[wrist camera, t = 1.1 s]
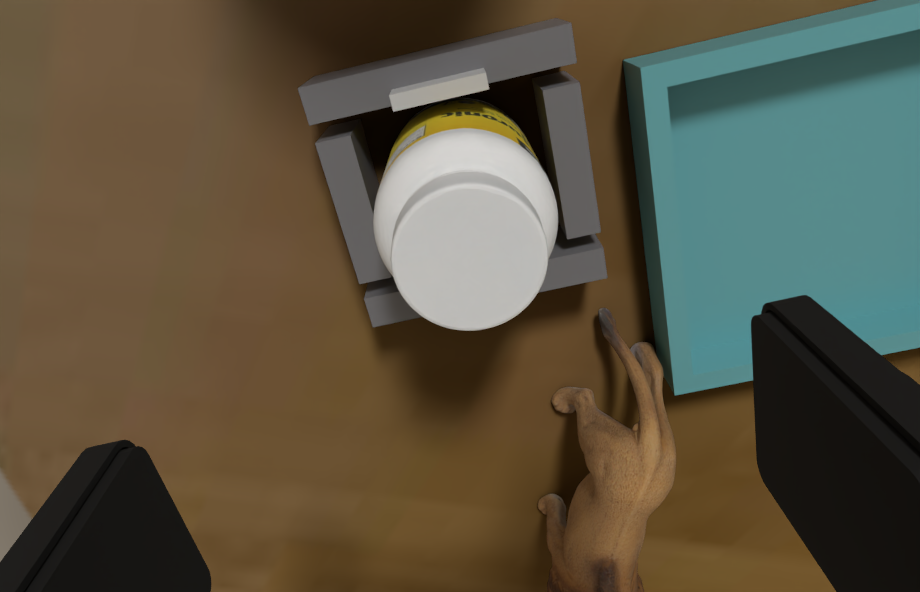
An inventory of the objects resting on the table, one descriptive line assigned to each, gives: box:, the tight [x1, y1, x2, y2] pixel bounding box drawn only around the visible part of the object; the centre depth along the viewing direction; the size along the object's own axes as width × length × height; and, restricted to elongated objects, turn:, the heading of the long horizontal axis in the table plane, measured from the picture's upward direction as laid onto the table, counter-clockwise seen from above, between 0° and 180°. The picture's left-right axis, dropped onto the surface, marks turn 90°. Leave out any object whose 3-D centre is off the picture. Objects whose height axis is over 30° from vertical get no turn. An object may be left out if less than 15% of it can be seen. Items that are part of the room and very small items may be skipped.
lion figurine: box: [538, 308, 676, 592], centre depth 27 cm, size 15×5×9 cm, turn 3°
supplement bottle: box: [373, 98, 558, 331], centre depth 21 cm, size 5×5×10 cm
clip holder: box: [298, 18, 607, 327], centre depth 24 cm, size 9×9×4 cm
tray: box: [623, 0, 920, 395], centre depth 25 cm, size 13×13×2 cm
